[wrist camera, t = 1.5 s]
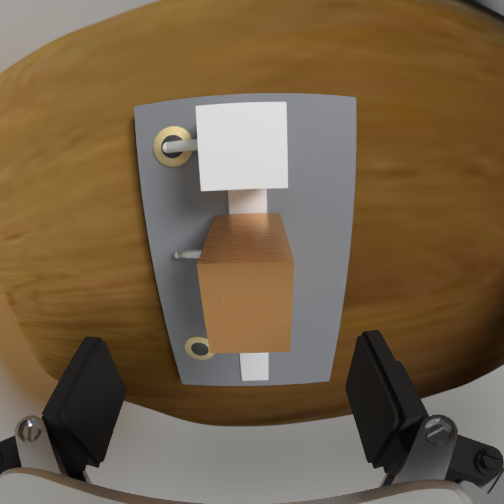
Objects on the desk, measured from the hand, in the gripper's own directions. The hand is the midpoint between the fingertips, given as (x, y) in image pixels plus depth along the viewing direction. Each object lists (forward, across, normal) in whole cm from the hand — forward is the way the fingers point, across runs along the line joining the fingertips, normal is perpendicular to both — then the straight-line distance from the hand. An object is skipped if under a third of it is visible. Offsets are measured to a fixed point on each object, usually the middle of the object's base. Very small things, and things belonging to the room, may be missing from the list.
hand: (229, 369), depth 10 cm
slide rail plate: (+12, -1, +2) cm, 13 cm away
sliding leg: (+10, +1, 0) cm, 10 cm away
